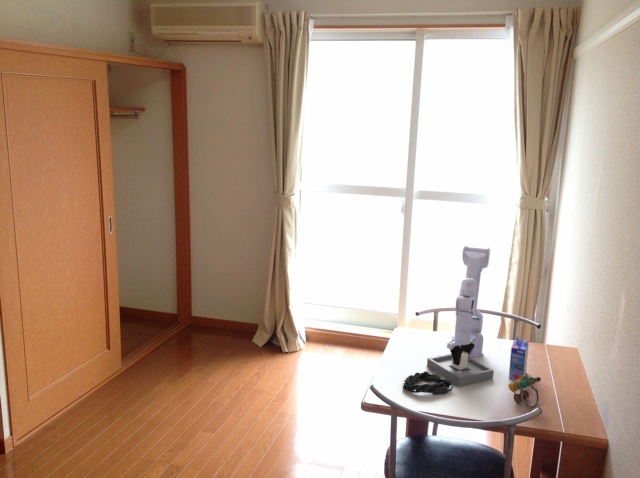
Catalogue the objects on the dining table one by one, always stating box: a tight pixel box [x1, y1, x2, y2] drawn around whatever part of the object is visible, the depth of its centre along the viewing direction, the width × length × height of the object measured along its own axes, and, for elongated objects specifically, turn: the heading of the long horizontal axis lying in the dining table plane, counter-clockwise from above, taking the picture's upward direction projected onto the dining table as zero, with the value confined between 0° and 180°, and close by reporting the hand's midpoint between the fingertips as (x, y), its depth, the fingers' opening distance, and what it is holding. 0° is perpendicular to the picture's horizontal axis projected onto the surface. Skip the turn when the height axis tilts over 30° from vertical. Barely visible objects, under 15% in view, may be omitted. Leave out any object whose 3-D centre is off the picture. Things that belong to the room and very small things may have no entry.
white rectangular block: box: [452, 351, 468, 370], centre depth 210 cm, size 4×4×6 cm
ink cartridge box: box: [508, 336, 530, 381], centre depth 210 cm, size 10×6×14 cm, turn 155°
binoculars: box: [507, 375, 542, 408], centre depth 189 cm, size 9×9×10 cm
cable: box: [402, 371, 454, 396], centre depth 199 cm, size 17×14×4 cm
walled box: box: [426, 353, 495, 388], centre depth 211 cm, size 16×18×4 cm
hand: (460, 363), depth 211 cm, fingers closed on white rectangular block, 4 cm apart
